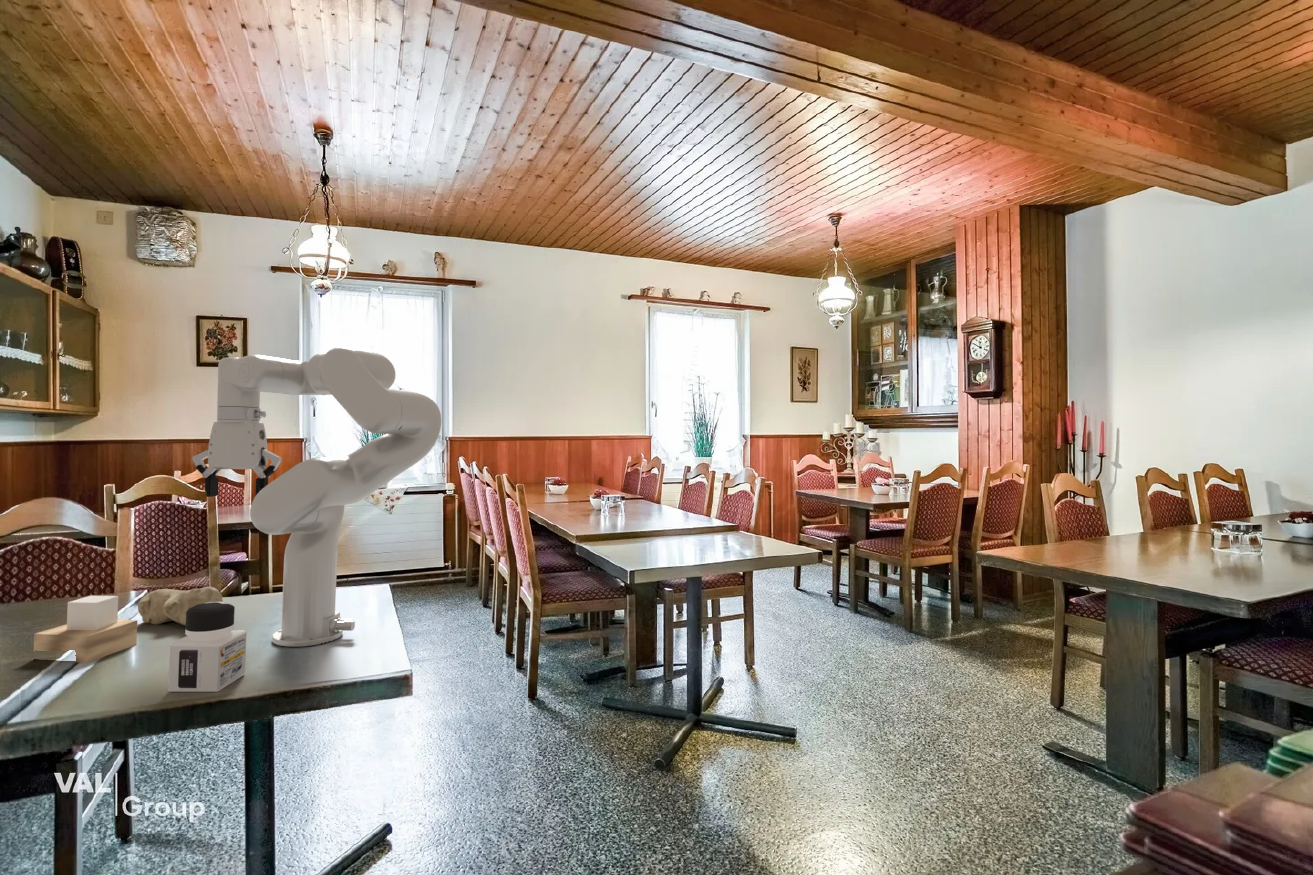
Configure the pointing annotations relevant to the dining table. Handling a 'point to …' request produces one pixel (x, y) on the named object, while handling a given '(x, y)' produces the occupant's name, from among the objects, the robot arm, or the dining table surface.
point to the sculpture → (174, 604)
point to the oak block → (88, 640)
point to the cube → (92, 612)
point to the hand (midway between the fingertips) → (236, 496)
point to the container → (207, 650)
